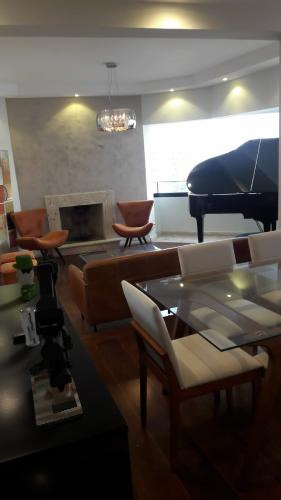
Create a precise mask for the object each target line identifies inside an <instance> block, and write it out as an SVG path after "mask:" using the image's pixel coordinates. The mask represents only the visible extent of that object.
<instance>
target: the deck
mask: <svg viewBox="0 0 281 500" xmlns="http://www.w3.org/2000/svg"><path fill="white" fill-rule="evenodd" d="M48 375H49V373H48V372H46V373H41V374H37V375H36V376H34V377H33V376H30V383H31V391H32V397H33V399H32V400H33V405H34V406H33V407H34V415H35V424H36V426H37V425H41V424H45V423H49V422H53V421H57V420H60V419H64V418H68V417H71V416H75V415H78V414H82V413H83V408H82V405H81V401H80V399H79V398H80V397H79V395H78V392H77V387H76V384H75V381H74V379H73V378H72V382H71V383H69V391H66V392H62V393H59V394H55V395H54V394H53V389H52V388H51V387H50V382H49V376H48ZM73 400H75V402H76V405H77V407H74V408H71V409H67V410H64V411H61V412H57V413H53V408H52V405H57V404H62V403H65V402H69V401H73ZM83 414H84V413H83Z"/></svg>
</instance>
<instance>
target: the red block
mask: <svg viewBox="0 0 281 500" xmlns="http://www.w3.org/2000/svg"><path fill="white" fill-rule="evenodd" d="M52 389H53V394H54V395H55V394H59V393H62V392H59V389H58V387H54V388H52ZM66 391H69V384H65V388H64V391H63V392H66Z"/></svg>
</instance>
